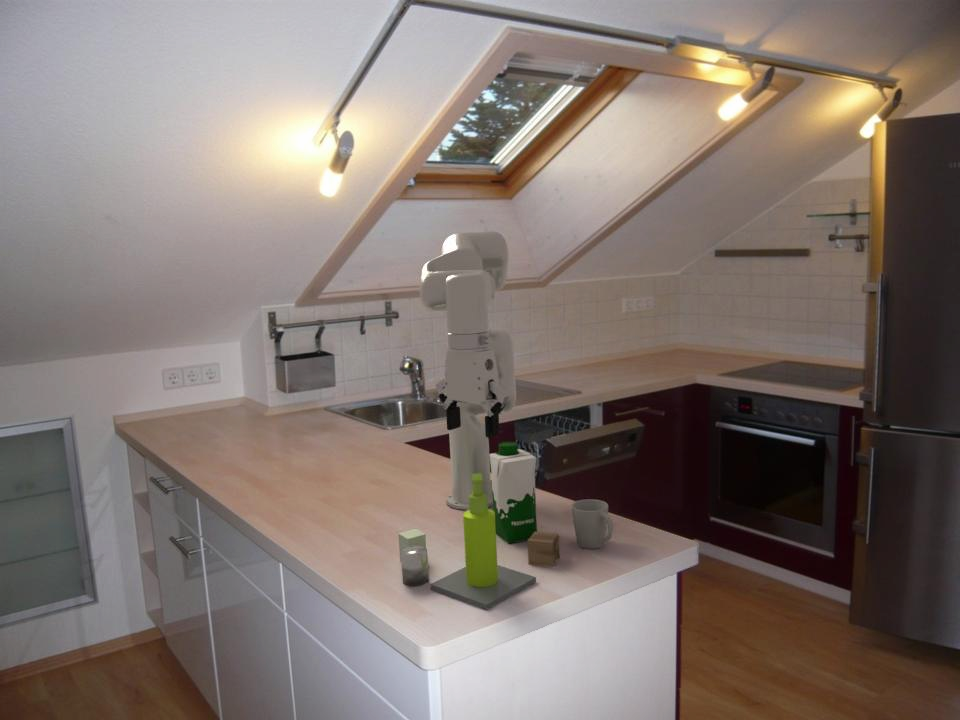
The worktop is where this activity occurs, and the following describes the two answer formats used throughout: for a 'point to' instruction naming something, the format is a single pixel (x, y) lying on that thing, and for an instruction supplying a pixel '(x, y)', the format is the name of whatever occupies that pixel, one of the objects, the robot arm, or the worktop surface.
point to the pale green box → (411, 539)
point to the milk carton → (513, 492)
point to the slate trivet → (483, 596)
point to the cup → (591, 523)
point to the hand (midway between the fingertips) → (472, 432)
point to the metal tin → (414, 566)
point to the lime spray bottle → (480, 538)
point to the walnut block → (543, 548)
